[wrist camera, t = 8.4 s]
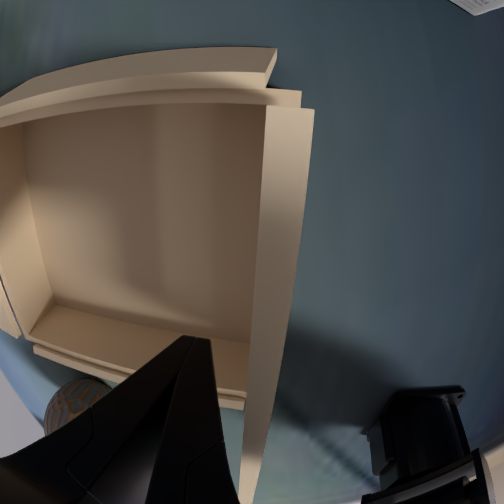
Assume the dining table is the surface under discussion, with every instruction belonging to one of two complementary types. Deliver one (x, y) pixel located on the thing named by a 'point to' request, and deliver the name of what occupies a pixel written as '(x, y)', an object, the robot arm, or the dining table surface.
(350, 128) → the dining table surface
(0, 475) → the robot arm
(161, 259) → the carton
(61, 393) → the vase
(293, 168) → the flap right
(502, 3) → the ink box
